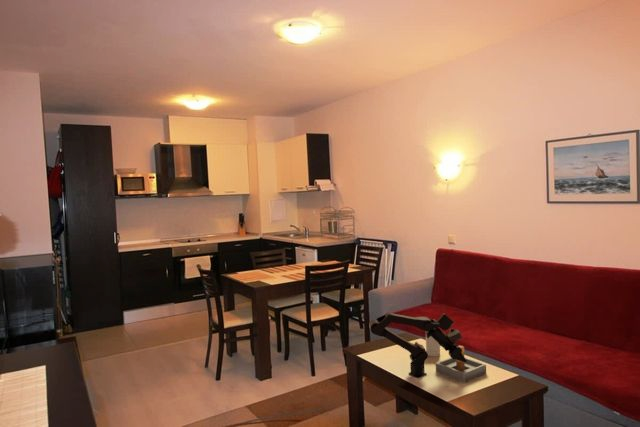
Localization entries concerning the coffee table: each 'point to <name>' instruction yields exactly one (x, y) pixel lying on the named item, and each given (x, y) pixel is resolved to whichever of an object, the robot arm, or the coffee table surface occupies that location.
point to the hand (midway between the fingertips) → (463, 358)
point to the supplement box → (432, 347)
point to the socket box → (470, 372)
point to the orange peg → (460, 362)
